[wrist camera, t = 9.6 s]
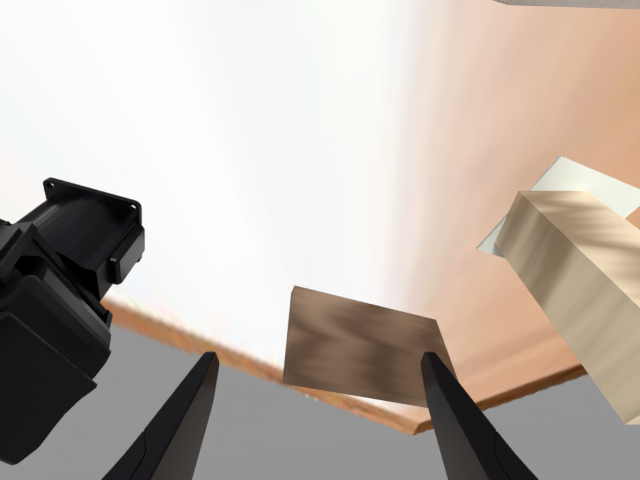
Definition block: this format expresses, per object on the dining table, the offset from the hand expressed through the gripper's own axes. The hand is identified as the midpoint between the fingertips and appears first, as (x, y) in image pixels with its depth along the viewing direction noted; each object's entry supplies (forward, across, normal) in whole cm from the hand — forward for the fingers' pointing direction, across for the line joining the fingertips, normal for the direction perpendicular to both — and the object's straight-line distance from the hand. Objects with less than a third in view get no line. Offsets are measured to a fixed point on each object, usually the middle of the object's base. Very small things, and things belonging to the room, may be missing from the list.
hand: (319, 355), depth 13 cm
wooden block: (+13, -17, +2) cm, 22 cm away
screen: (+13, -5, +13) cm, 19 cm away
